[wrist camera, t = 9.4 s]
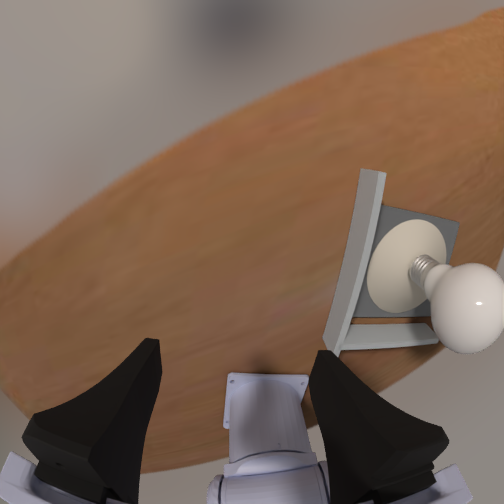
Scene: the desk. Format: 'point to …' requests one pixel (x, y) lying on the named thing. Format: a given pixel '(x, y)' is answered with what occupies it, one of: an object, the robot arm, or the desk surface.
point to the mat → (402, 262)
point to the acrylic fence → (351, 279)
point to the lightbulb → (462, 302)
